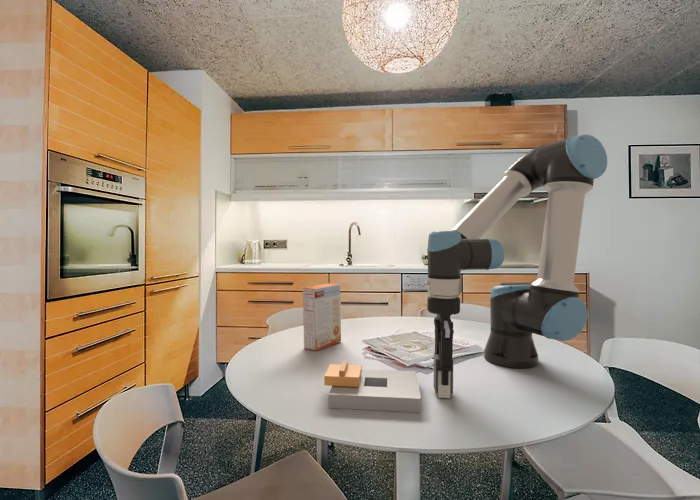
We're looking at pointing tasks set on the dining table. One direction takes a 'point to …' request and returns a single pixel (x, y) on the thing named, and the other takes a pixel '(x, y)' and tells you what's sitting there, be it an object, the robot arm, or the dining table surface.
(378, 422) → the dining table surface
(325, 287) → the cracker box
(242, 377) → the dining table surface
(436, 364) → the plug
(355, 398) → the socket plate
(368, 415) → the dining table surface
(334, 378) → the orange ridged block
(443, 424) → the dining table surface
